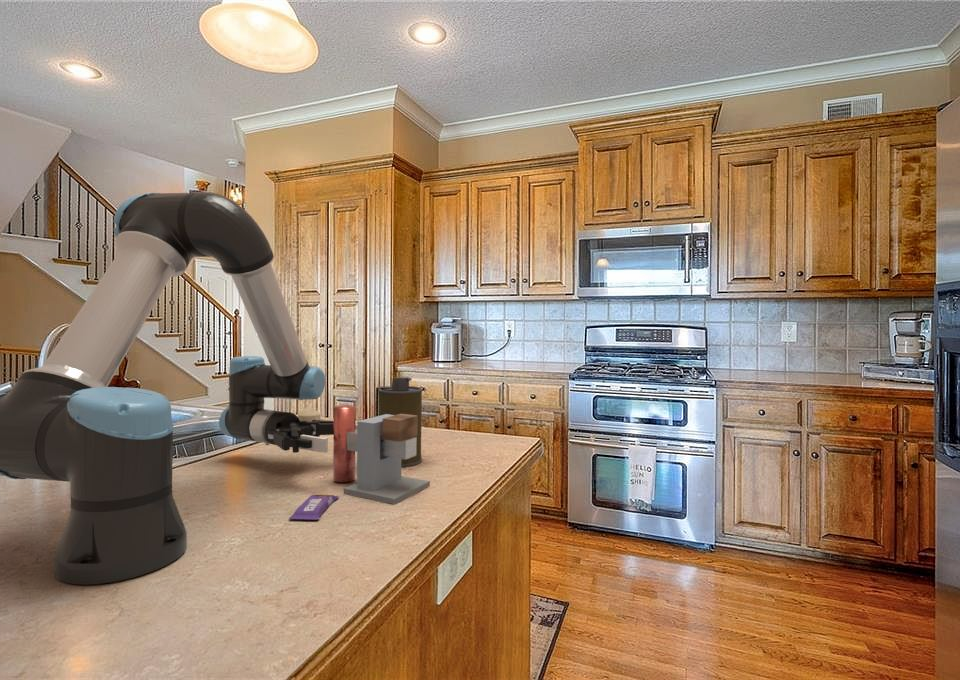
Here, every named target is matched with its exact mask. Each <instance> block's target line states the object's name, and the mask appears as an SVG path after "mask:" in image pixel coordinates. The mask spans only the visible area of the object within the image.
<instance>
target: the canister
mask: <svg viewBox="0 0 960 680" xmlns="http://www.w3.org/2000/svg"><path fill="white" fill-rule="evenodd" d="M412 380H413V379H412V377H409V376H408V377H406V376H404V377H403V376H396V377H394V378H392V381H391V385H389V386H384V385H383V386H377V387H376V388H375V417H377V416H381V415H385V414H389V415H398V414H408V415H417V416H418V432H417V436H415V437H417V443H416V456H414V457H411V458H409V459H406V460H405V459H401V468H405V467H406V468H407V467H413V466H416V465H417V466H418V465H419V464H420V463H422V461H423V459H422V408H423V407H422V405H423V404H422V402H423V401H422V399H423V398H422V397H423V395H422V394H423V387H420V386H413V385H410V382H411V381H412Z"/></svg>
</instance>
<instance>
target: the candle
mask: <svg viewBox="0 0 960 680" xmlns="http://www.w3.org/2000/svg"><path fill="white" fill-rule="evenodd" d="M297 417H298V418H299V420H300V421H308V422H311V421H312V420H321V413H320V411H318V410H317V409H315V408H310V407H306V408H302V410H301V411H299V413H298V415H297ZM313 434H316V432H314V431H313ZM319 437H321V435H319ZM299 449H300V447H299Z"/></svg>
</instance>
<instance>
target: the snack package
mask: <svg viewBox="0 0 960 680" xmlns="http://www.w3.org/2000/svg"><path fill="white" fill-rule="evenodd" d="M339 497H340V496H338V495H334V494H311V495H309V497H308V498H307V499H305V500H304V502H302V503H301V504H300V505H299V506H298V507H297V508H296V509H295V511H294V512H293V514H292V515H291V516H290V517H288V519H289V520H307V521H308V520H311V521H312V520H313V521H314V520H315V521H317V520H319V519H320V517H321V516H322V515H323V514H324V513H325V512H326V511H327V510H328V509H329V507H331V506H332V505H333V503H334V502H335V501H336V500H337V499H338V498H339Z"/></svg>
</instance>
